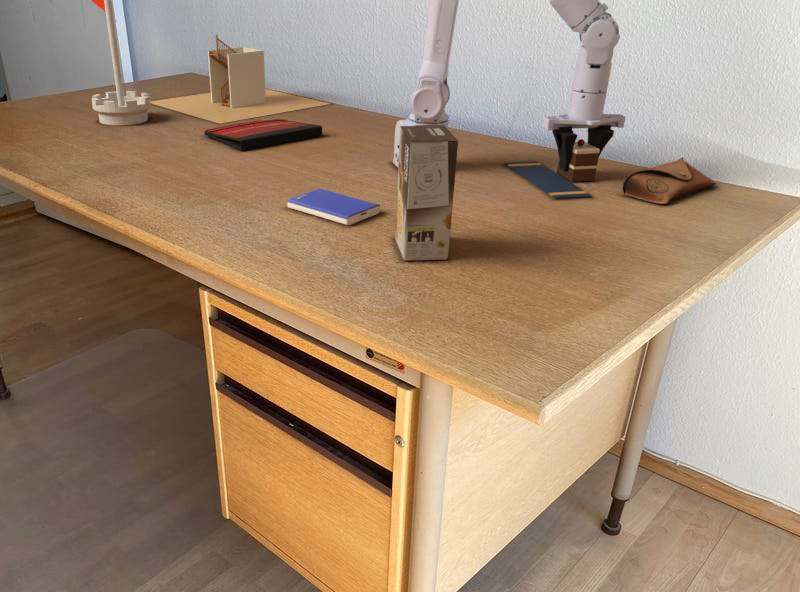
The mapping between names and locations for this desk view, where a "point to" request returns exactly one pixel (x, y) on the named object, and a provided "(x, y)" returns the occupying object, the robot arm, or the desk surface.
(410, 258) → the coffee box
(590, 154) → the cake slice
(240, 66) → the staircase
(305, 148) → the desk surface
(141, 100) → the flag stand
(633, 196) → the sunglasses case
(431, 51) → the robot arm
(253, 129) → the binder
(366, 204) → the hard drive
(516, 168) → the cloth
